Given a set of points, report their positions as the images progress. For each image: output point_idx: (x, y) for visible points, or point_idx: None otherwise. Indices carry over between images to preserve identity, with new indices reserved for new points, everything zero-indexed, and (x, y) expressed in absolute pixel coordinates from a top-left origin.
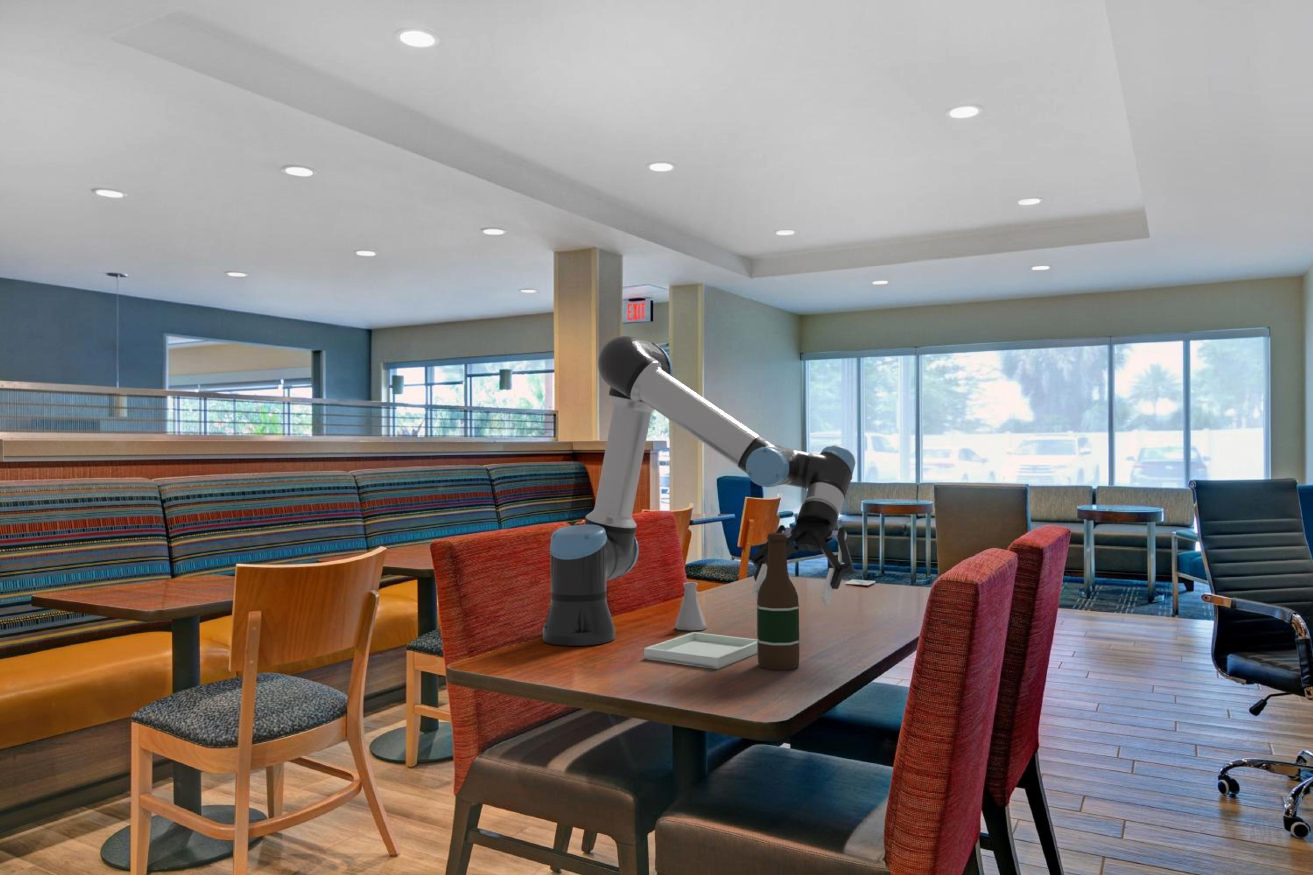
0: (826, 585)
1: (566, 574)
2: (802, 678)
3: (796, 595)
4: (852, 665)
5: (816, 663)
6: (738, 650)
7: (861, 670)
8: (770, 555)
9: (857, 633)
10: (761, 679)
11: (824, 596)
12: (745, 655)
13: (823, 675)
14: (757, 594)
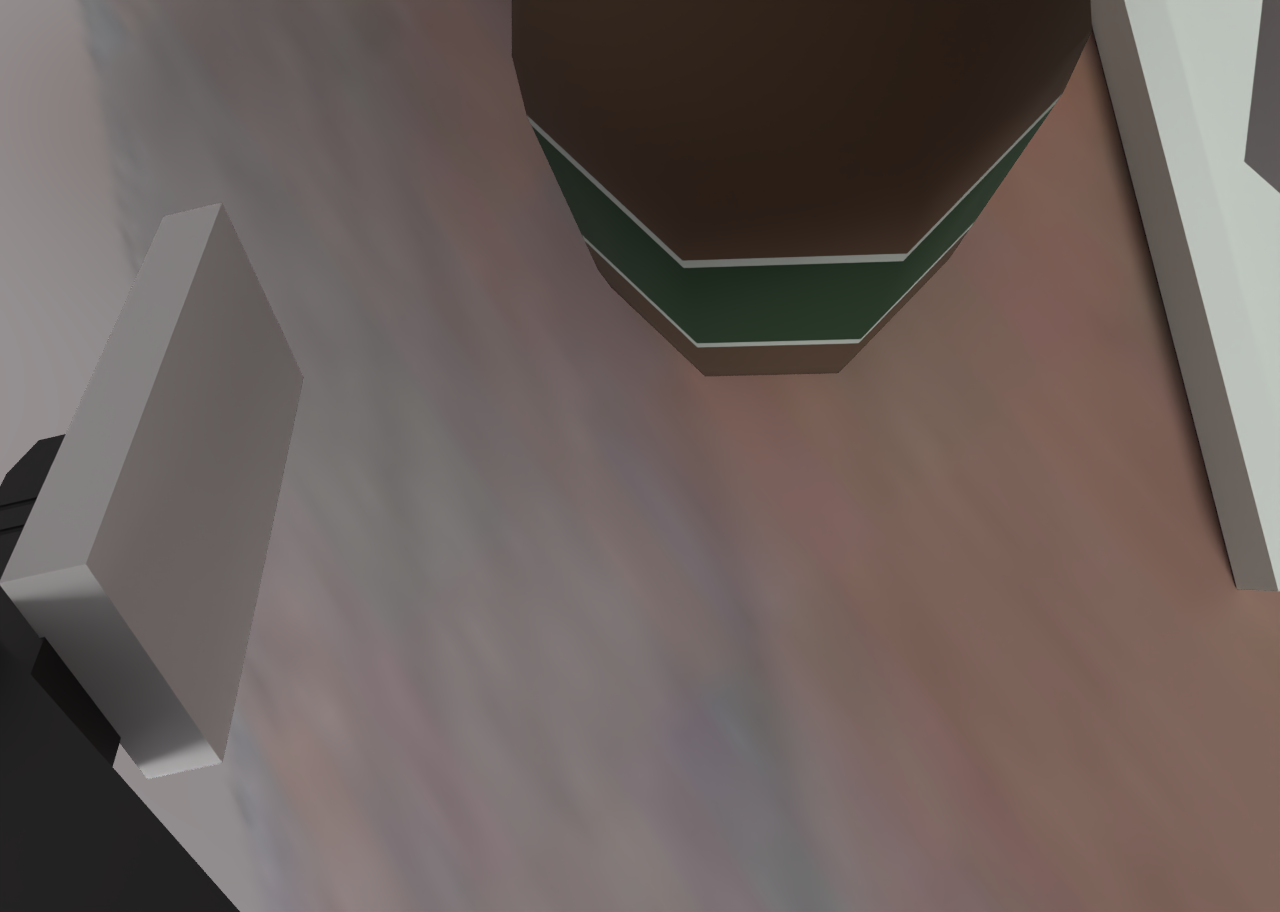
0: (136, 317)
1: None
2: (397, 45)
3: (512, 18)
4: (343, 642)
5: (594, 502)
6: (1146, 97)
7: None
8: None
9: None
10: None
11: (164, 226)
12: (1157, 244)
13: (334, 220)
14: (1261, 37)
